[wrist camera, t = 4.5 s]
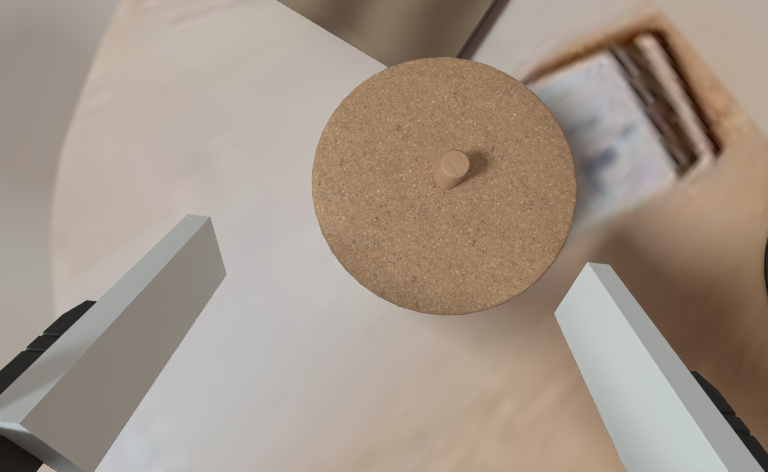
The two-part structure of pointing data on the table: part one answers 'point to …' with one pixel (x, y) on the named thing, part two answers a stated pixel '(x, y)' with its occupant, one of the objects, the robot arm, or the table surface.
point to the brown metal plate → (399, 25)
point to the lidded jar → (444, 186)
